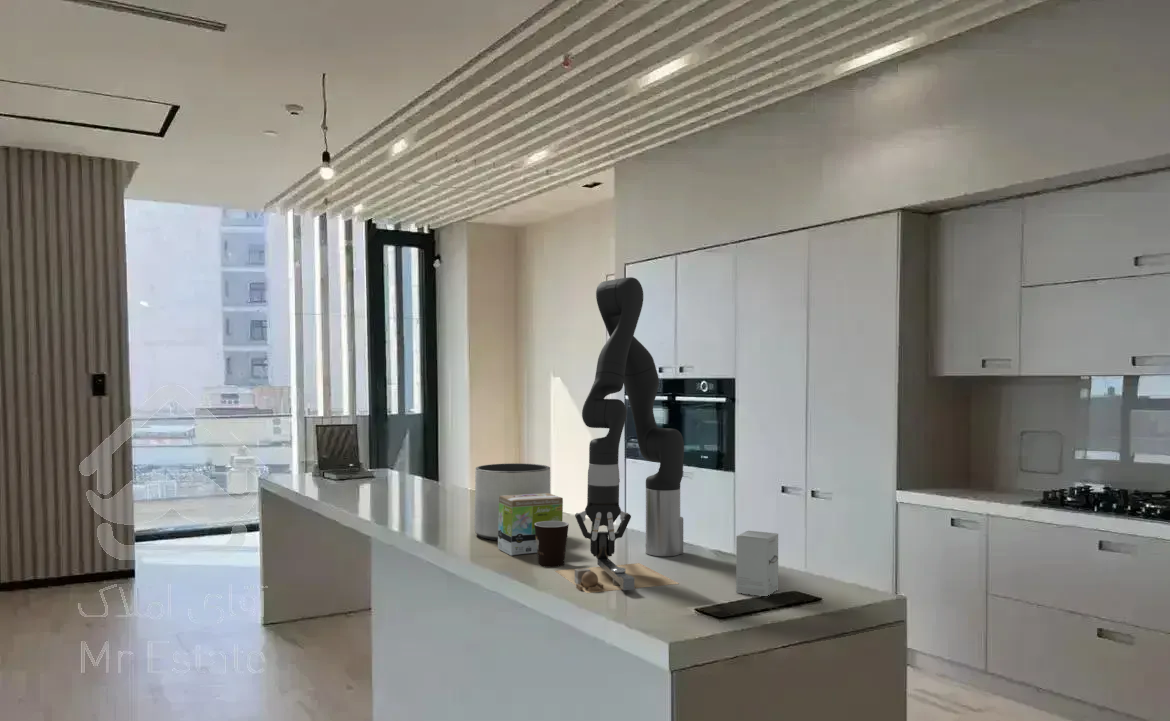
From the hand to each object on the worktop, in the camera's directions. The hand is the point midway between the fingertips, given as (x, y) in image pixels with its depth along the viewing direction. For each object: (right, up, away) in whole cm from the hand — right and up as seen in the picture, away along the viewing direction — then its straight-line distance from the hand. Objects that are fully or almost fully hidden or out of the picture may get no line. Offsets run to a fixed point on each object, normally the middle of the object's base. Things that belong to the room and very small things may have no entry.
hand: (602, 555), depth 192 cm
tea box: (-19, -5, +27) cm, 34 cm away
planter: (-26, -6, +49) cm, 55 cm away
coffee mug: (-12, -5, +13) cm, 18 cm away
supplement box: (+34, -5, -15) cm, 37 cm away
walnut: (-3, -3, -17) cm, 17 cm away
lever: (+2, -2, -10) cm, 11 cm away
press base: (+2, -4, -7) cm, 9 cm away
